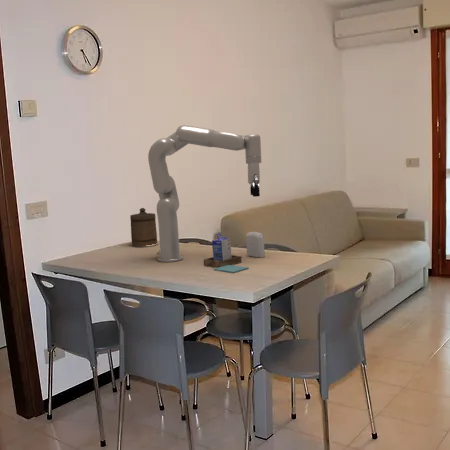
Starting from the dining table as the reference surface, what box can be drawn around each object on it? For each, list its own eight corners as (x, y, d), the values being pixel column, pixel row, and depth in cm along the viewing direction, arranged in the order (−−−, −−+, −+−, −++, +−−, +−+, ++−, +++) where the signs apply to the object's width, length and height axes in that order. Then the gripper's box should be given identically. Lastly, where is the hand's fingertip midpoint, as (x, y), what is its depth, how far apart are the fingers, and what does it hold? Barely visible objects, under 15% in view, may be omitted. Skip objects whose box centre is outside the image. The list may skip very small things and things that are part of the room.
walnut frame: (203, 265, 259) (203, 259, 259) (224, 260, 270) (224, 254, 269) (220, 268, 252) (220, 261, 252) (241, 262, 263) (241, 256, 262)
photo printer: (245, 255, 278) (244, 231, 277) (252, 254, 281) (250, 230, 279) (259, 258, 270) (258, 233, 269) (266, 256, 273) (265, 232, 271)
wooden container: (160, 242, 333) (157, 206, 331) (153, 247, 319) (151, 209, 316) (136, 243, 336) (133, 207, 333) (128, 247, 321) (125, 210, 318)
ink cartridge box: (222, 261, 267) (220, 231, 265) (232, 262, 264) (230, 232, 262) (212, 266, 258) (211, 235, 256) (223, 266, 255) (222, 235, 253)
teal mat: (213, 270, 249) (213, 268, 248) (228, 266, 256) (228, 264, 256) (233, 273, 240) (233, 271, 240) (248, 268, 248) (248, 267, 248)
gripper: (244, 160, 277) (245, 194, 279) (247, 161, 260) (249, 197, 262) (259, 159, 277) (260, 193, 280) (263, 160, 260) (265, 196, 263)
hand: (255, 195), depth 271 cm, fingers open, 9 cm apart
